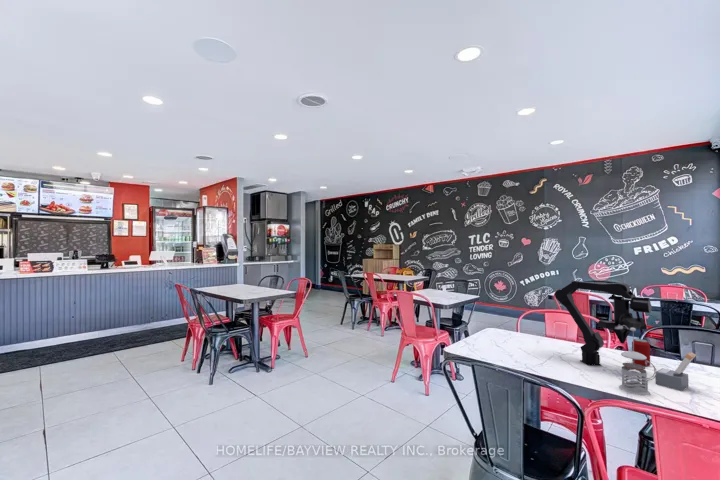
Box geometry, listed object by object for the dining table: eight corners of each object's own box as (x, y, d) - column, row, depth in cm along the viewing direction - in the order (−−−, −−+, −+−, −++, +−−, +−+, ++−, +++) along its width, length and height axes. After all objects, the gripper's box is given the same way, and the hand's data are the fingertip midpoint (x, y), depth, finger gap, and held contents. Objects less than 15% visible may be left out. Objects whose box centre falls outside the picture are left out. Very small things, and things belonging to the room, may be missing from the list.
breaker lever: (672, 373, 132) (686, 353, 128) (676, 370, 135) (690, 351, 131) (678, 376, 130) (692, 357, 127) (682, 373, 133) (696, 354, 130)
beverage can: (643, 362, 162) (642, 338, 162) (654, 367, 155) (653, 342, 156) (628, 361, 163) (628, 338, 163) (639, 366, 156) (638, 341, 156)
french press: (616, 383, 136) (615, 323, 137) (652, 389, 130) (651, 327, 131) (621, 391, 127) (619, 328, 128) (660, 398, 121) (658, 332, 122)
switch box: (655, 384, 135) (655, 369, 135) (662, 379, 140) (662, 365, 140) (681, 391, 128) (681, 375, 128) (688, 386, 133) (688, 371, 133)
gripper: (614, 312, 142) (615, 348, 142) (657, 313, 142) (658, 348, 141) (596, 308, 153) (597, 341, 153) (636, 308, 153) (636, 341, 153)
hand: (622, 343), depth 150 cm, fingers closed
